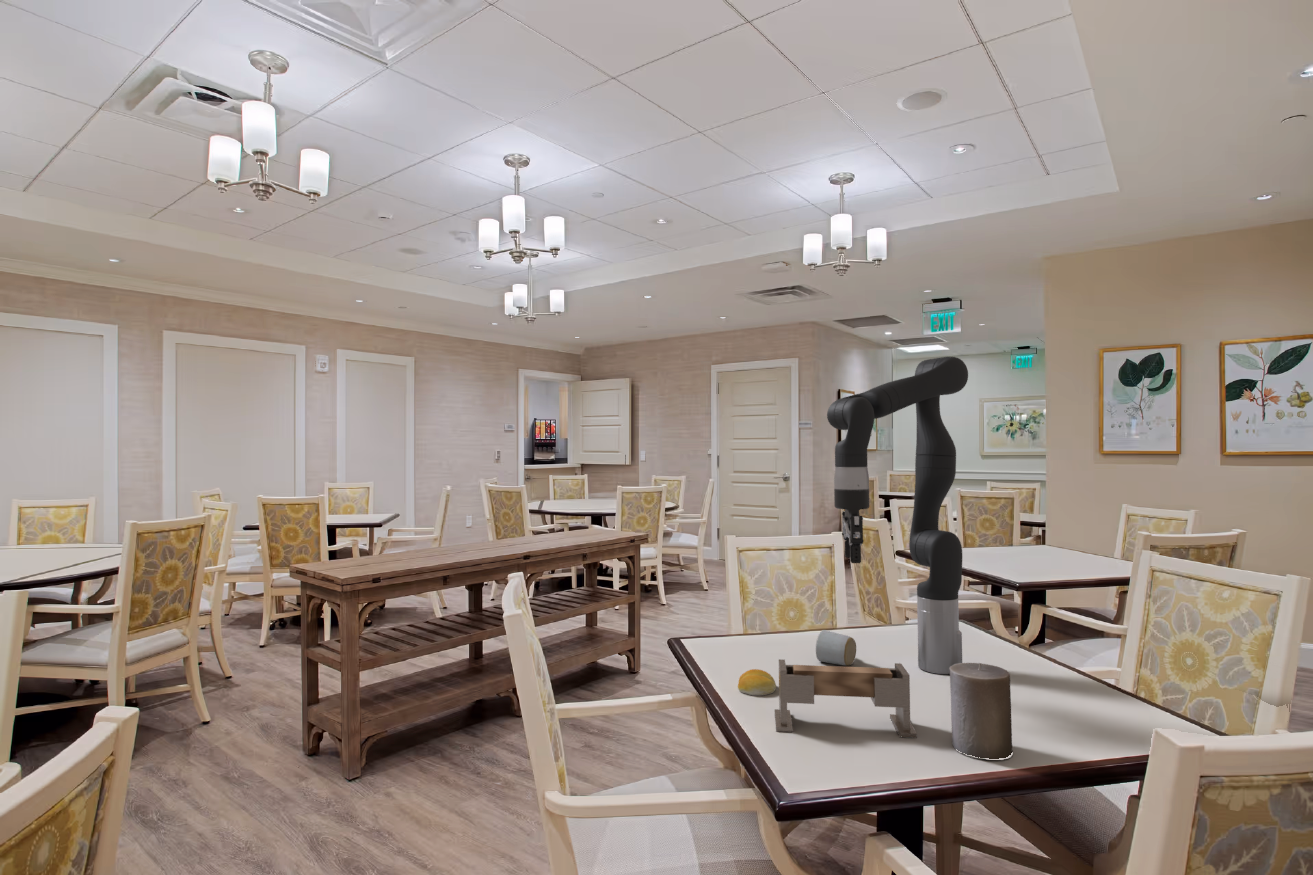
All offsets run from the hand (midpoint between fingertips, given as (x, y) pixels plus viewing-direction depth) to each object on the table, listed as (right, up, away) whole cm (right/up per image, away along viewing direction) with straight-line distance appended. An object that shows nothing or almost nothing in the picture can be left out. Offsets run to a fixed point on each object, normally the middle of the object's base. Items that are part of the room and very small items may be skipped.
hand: (852, 560), depth 151 cm
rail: (-8, -22, -22) cm, 32 cm away
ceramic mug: (+1, -29, +18) cm, 34 cm away
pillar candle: (+13, -27, -33) cm, 45 cm away
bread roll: (-22, -29, -1) cm, 36 cm away
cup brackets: (-8, -28, -22) cm, 36 cm away
